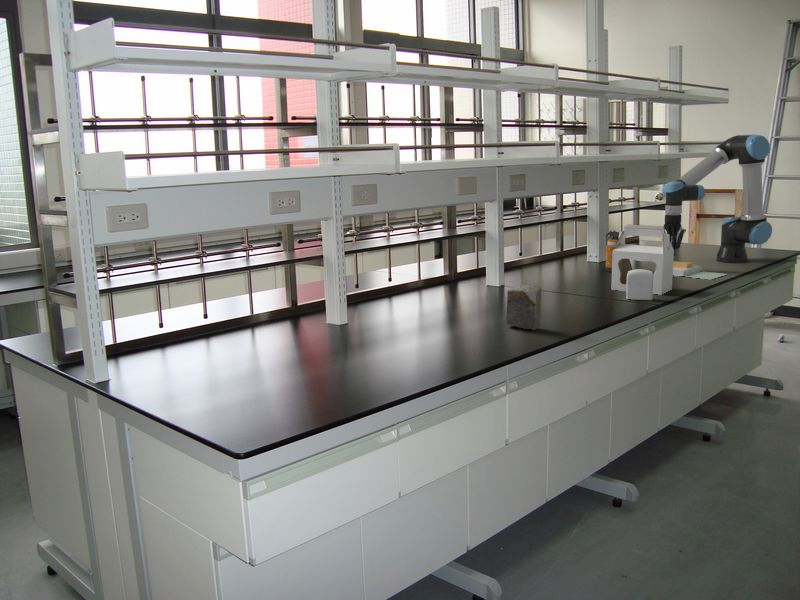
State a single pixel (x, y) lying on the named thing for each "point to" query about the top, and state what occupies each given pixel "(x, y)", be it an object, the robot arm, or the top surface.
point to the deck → (685, 270)
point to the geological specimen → (524, 307)
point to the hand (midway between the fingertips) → (670, 262)
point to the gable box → (643, 258)
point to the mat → (706, 275)
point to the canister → (610, 248)
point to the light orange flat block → (682, 264)
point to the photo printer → (639, 285)
